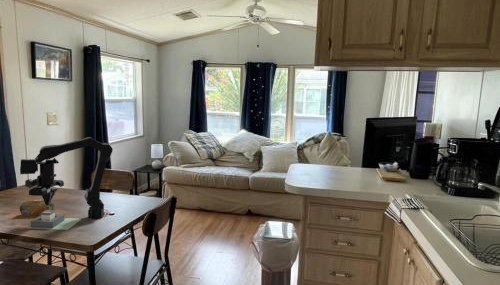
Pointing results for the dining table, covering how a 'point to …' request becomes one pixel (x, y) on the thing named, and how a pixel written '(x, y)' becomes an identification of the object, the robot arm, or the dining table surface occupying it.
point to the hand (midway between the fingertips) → (47, 205)
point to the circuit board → (63, 224)
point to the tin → (35, 207)
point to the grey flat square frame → (47, 222)
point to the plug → (48, 215)
